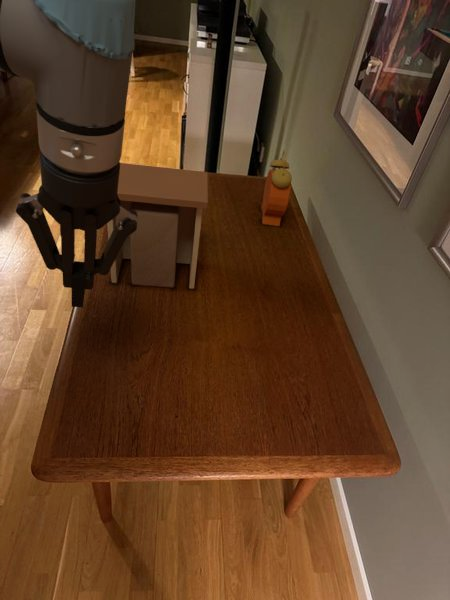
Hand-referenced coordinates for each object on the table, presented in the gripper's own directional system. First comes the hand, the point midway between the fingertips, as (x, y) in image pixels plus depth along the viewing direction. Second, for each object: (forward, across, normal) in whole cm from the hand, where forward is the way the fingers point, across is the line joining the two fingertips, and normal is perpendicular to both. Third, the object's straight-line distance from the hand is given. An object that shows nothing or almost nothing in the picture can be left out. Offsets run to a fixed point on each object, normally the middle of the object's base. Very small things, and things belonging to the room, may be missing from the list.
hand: (78, 299), depth 57 cm
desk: (+26, +15, +30) cm, 42 cm away
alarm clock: (+26, +51, +59) cm, 82 cm away
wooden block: (+26, +15, +30) cm, 42 cm away
